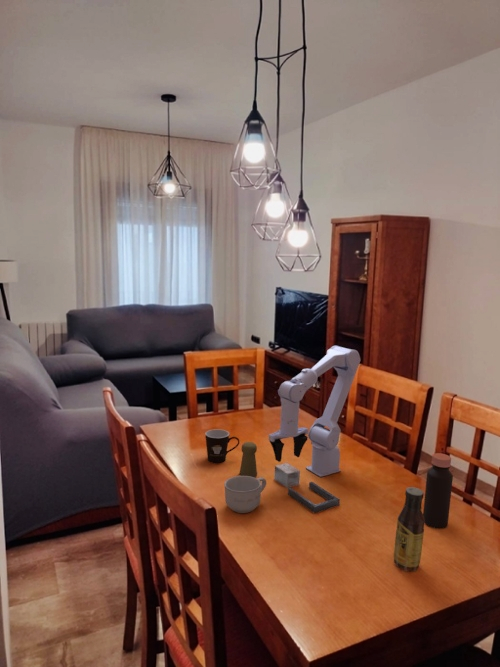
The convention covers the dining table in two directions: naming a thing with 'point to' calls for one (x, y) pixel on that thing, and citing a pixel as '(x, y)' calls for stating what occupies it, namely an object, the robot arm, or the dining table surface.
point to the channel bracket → (311, 506)
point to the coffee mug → (218, 445)
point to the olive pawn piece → (248, 460)
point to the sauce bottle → (410, 532)
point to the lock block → (287, 475)
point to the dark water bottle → (438, 492)
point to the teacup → (243, 493)
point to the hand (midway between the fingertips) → (287, 458)
